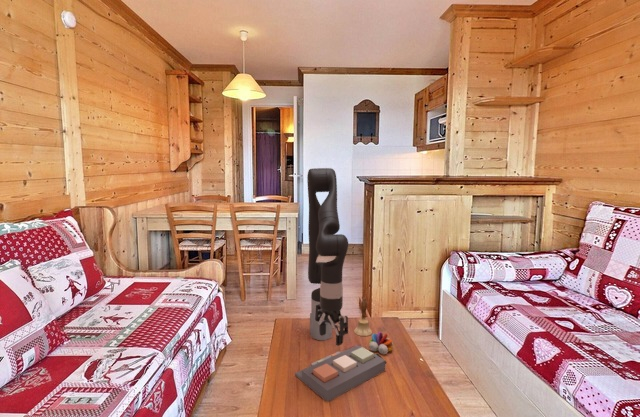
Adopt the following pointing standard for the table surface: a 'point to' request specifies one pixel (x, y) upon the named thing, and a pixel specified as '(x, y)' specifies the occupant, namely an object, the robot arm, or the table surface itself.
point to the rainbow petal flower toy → (380, 343)
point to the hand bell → (363, 322)
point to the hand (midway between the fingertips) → (330, 339)
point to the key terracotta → (325, 373)
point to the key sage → (362, 355)
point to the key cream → (344, 364)
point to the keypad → (341, 375)
